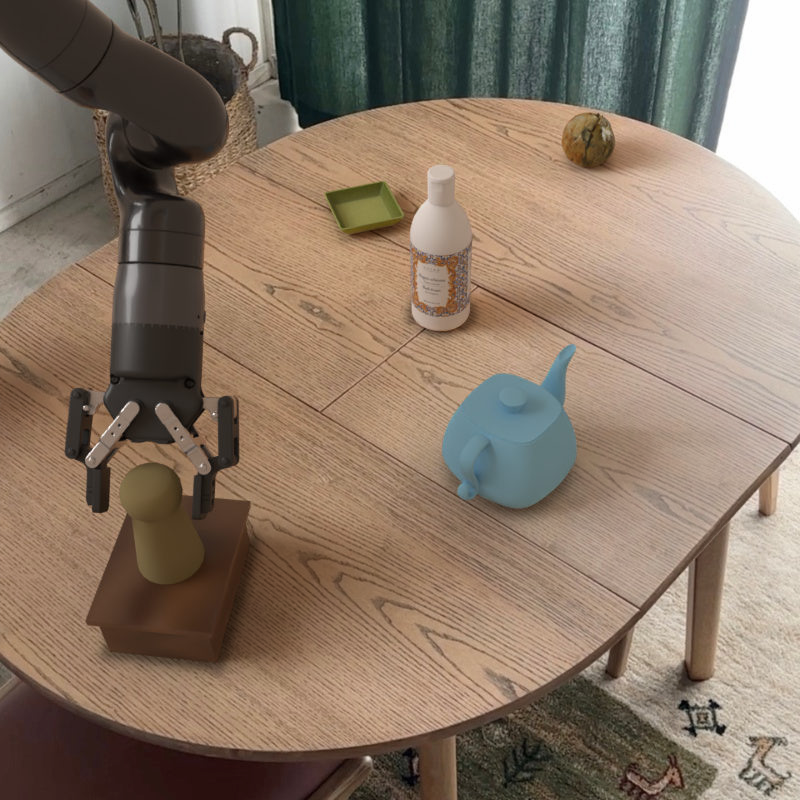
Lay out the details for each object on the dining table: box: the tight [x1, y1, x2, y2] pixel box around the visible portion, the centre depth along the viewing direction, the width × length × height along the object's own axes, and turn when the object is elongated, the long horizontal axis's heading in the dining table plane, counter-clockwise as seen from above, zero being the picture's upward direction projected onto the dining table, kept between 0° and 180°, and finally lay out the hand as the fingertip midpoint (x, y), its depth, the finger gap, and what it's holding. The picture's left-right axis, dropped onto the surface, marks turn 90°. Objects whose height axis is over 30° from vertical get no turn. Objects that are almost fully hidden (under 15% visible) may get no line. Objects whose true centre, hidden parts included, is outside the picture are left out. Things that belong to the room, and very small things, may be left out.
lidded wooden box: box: [84, 494, 252, 663], centre depth 98 cm, size 11×14×6 cm
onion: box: [560, 111, 616, 169], centre depth 145 cm, size 8×8×8 cm
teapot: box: [441, 343, 578, 509], centre depth 106 cm, size 13×11×18 cm
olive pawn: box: [118, 461, 205, 584], centre depth 92 cm, size 6×6×11 cm
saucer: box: [323, 180, 405, 235], centre depth 139 cm, size 9×9×2 cm
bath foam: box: [409, 164, 473, 332], centre depth 119 cm, size 7×7×20 cm
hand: (149, 515), depth 89 cm, fingers open, 8 cm apart
